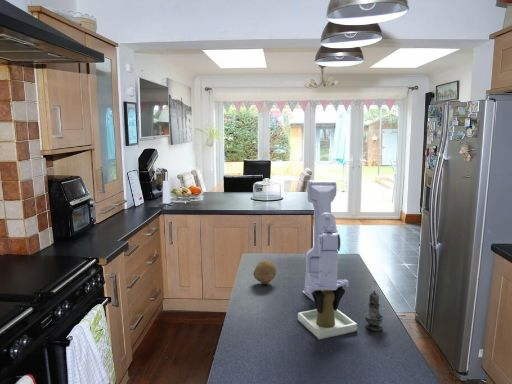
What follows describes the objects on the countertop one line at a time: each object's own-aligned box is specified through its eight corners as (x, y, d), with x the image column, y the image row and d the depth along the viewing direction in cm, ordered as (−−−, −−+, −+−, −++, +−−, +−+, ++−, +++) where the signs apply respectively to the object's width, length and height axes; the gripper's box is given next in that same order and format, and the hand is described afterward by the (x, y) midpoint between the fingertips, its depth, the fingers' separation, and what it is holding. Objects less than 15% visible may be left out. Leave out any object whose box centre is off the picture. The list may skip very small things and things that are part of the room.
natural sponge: (278, 287, 158) (279, 263, 157) (257, 289, 156) (257, 265, 155) (273, 279, 167) (273, 256, 165) (252, 281, 165) (252, 257, 163)
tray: (297, 319, 132) (297, 312, 132) (332, 312, 138) (333, 305, 137) (319, 339, 120) (319, 332, 120) (356, 331, 125) (357, 323, 125)
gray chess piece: (360, 324, 129) (361, 287, 128) (376, 322, 131) (377, 286, 130) (370, 331, 124) (370, 293, 123) (387, 329, 125) (387, 292, 124)
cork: (312, 321, 130) (313, 289, 128) (326, 317, 133) (327, 285, 131) (324, 329, 125) (325, 296, 123) (339, 324, 128) (340, 292, 126)
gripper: (314, 277, 119) (313, 320, 122) (355, 271, 125) (353, 312, 127) (303, 270, 126) (302, 310, 128) (342, 264, 131) (340, 303, 133)
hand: (326, 310), depth 128 cm, fingers closed on cork, 5 cm apart
